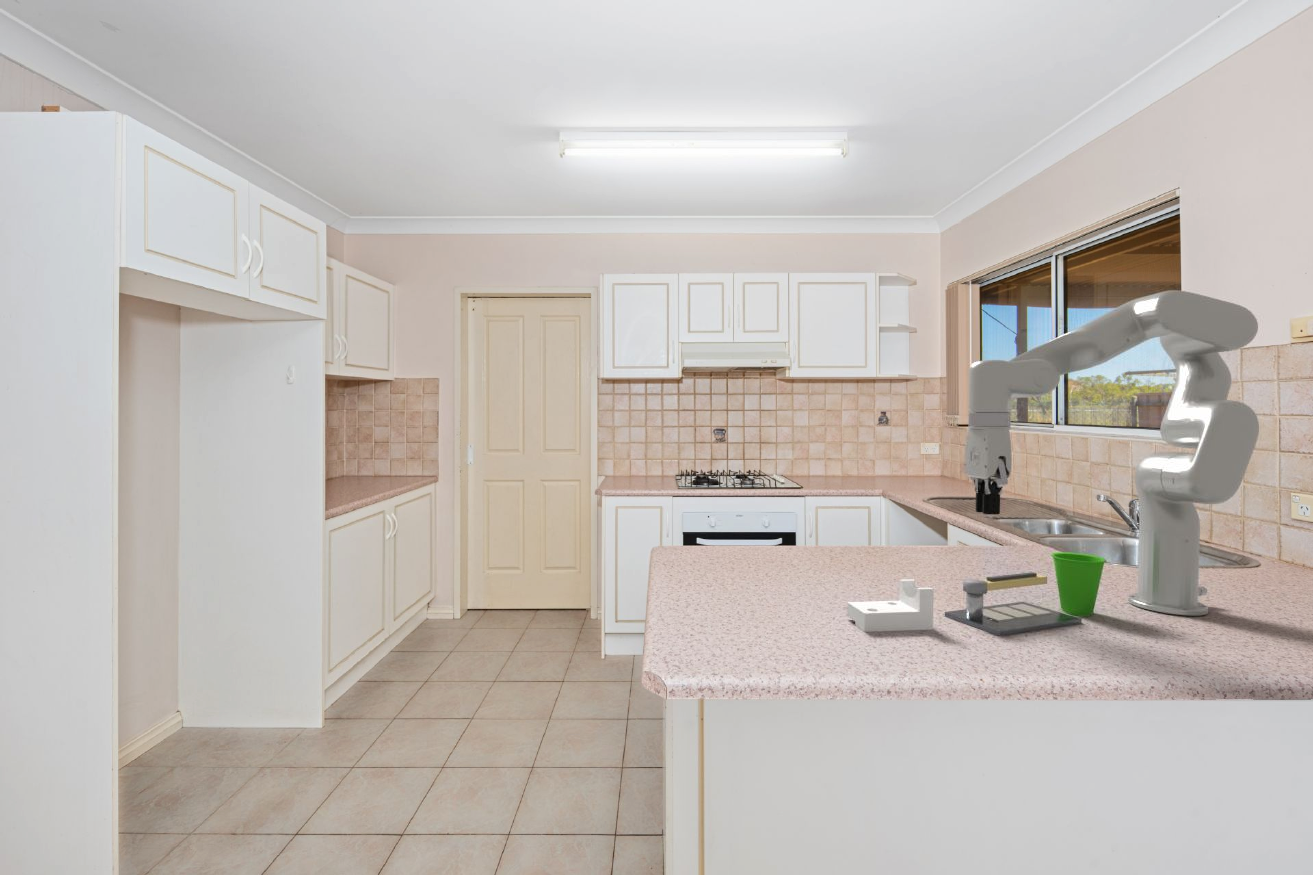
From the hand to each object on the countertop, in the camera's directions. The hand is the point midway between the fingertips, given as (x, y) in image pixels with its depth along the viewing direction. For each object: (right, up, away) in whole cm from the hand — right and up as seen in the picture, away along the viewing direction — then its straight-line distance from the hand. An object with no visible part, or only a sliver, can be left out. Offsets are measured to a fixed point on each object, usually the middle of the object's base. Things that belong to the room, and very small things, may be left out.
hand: (987, 512), depth 126 cm
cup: (+16, -20, -3) cm, 25 cm away
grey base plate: (0, -19, -8) cm, 21 cm away
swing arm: (-1, -13, -7) cm, 15 cm away
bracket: (-24, -20, -11) cm, 33 cm away
